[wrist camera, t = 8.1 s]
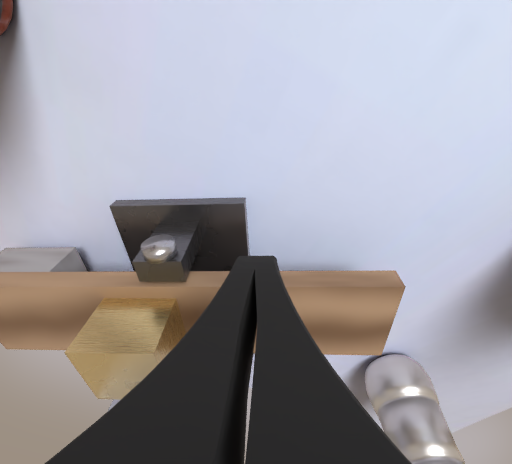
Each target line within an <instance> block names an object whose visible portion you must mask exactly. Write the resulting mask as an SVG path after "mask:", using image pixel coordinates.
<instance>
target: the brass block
mask: <svg viewBox="0 0 512 464" xmlns="http://www.w3.org/2000/svg"><path fill="white" fill-rule="evenodd" d="M185 334H186V331H185V327H184V324H183V320H182V317H181V314H180V310H179V307H178V303H177V300H176V298H103V300H102V301H101V303H100V304H99V305H98V307H97V308H96V310H95V311H94V312H93V314H92V315H91V317H90V318H89V319H88V321H87V322H86V323H85V325H84V326H83V328H82V329H81V330H80V332H79V333H78V335H77V336H76V337H75V339H74V340H73V342H72V343H71V344H70V346H69V347H68V349H67V350H66V351H65V354H66V355H67V357H68V358H69V360H70V361H71V363H72V364H73V365H74V367H75V368H76V369H77V371H78V372H79V374H80V375H81V376H82V378H83V379H84V381H85V382H86V383H87V385H88V386H89V387H90V389H91V390H92V392H93V393H94V394H95V396H96V397H97V398H98V399H117V400H121V399H122V398H123V397H124V396H125V395H126V394H128V393H129V392H130V391H131V390H132V389H133V388H134V387H135V386H136V385H137V384H139V383H140V382H141V381H142V380H143V379H144V378H145V377H146V376H147V375H148V374H149V373H150V372H151V371H152V370H153V369H154V368H155V367H156V366H157V365H158V364H159V363H160V362H161V361H162V360H163V359H164V357H165V356H166V355H167V354H168V353H169V352H170V351H171V350H172V349H173V348H174V347H175V346H176V345H177V344H178V342H179V341H180V340H181V339H182V338H183V337H184V336H185Z"/></svg>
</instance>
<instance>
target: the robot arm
mask: <svg viewBox="0 0 512 464" xmlns="http://www.w3.org/2000/svg"><path fill="white" fill-rule="evenodd" d="M256 329H257V335H256ZM255 336H256V349H255V362H254V374H253V386H252V398H251V409H250V421H249V431H248V442H247V452H246V462H245V464H412V463H411V462H410V461H409V460H408V459H407V458H406V457H405V456H404V454H403V453H402V452H401V451H400V450H399V449H398V448H397V447H396V445H395V444H394V443H393V442H392V441H391V440H390V439H389V437H388V436H387V435H386V434H385V433H384V432H383V431H382V429H381V428H380V427H379V426H378V425H377V423H376V422H375V421H374V420H373V419H372V417H371V416H370V415H369V414H368V413H367V411H366V410H365V409H364V408H363V407H362V405H361V404H360V403H359V401H358V400H357V399H356V398H355V396H354V395H353V394H352V392H351V391H350V390H349V389H348V387H347V386H346V385H345V383H344V382H343V381H342V379H341V378H340V377H339V376H338V374H337V373H336V372H335V370H334V369H333V368H332V366H331V365H330V363H329V362H328V360H327V359H326V357H325V356H324V355H323V353H322V352H321V350H320V349H319V347H318V346H317V344H316V343H315V341H314V339H313V338H312V336H311V335H310V333H309V331H308V330H307V328H306V326H305V325H304V323H303V321H302V319H301V317H300V316H299V314H298V312H297V310H296V308H295V306H294V304H293V302H292V300H291V298H290V296H289V294H288V292H287V290H286V287H285V285H284V282H283V280H282V277H281V274H280V271H279V268H278V264H277V259H276V258H275V257H274V256H239V257H238V258H237V259H236V261H235V263H234V265H233V267H232V269H231V271H230V272H229V274H228V276H227V278H226V279H225V281H224V283H223V284H222V286H221V287H220V289H219V290H218V292H217V293H216V295H215V296H214V298H213V299H212V301H211V302H210V304H209V305H208V306H207V308H206V309H205V310H204V312H203V313H202V314H201V316H200V317H199V318H198V320H197V321H196V322H195V323H194V325H193V326H192V327H191V328H190V330H189V331H188V332H187V333H186V334H185V336H184V337H183V338H182V339H181V340H180V341H179V342H178V344H177V345H176V346H175V347H174V348H173V349H172V350H171V351H170V352H169V353H168V354H167V355H166V356H165V357H164V359H163V360H162V361H161V362H160V363H159V364H158V365H157V366H156V367H155V368H154V369H153V370H152V371H151V372H150V373H149V374H148V375H147V376H146V377H145V378H144V379H143V380H142V381H141V382H140V383H139V384H137V385H136V386H135V387H134V388H133V389H132V390H131V391H130V392H129V393H128V394H126V395H125V396H124V397H123V398H122V399H121V400H117V399H113V401H112V403H111V405H110V407H109V409H108V412H107V413H106V414H104V415H103V416H102V417H101V418H100V419H99V420H98V421H96V422H95V423H94V424H93V425H91V427H89V428H88V429H87V430H86V431H84V432H83V433H82V434H81V435H80V436H78V437H77V438H76V439H74V440H73V441H72V442H71V443H70V444H68V445H67V446H66V447H65V448H63V449H62V450H61V451H60V452H59V453H57V454H56V455H55V456H54V457H53V458H51V459H50V460H49V461H47V462H46V463H45V464H244V453H245V433H246V415H247V414H246V413H247V398H248V388H249V380H250V373H251V365H252V358H253V351H254V344H255Z"/></svg>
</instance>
